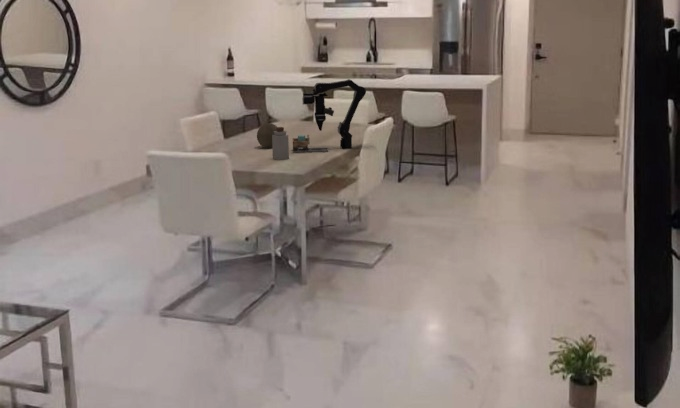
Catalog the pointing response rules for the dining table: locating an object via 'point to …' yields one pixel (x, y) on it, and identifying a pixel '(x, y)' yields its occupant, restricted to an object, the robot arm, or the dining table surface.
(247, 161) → the dining table surface
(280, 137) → the perfume bottle
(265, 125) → the cantaloupe
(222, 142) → the dining table surface
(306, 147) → the cart
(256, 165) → the dining table surface
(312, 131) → the dining table surface
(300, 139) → the block
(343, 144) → the robot arm
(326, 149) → the rail
